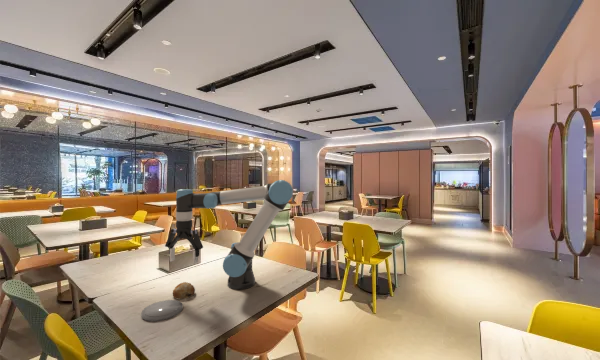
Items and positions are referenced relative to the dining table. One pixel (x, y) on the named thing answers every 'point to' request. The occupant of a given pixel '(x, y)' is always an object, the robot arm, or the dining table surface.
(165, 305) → the plate
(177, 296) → the bread roll
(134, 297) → the dining table surface
